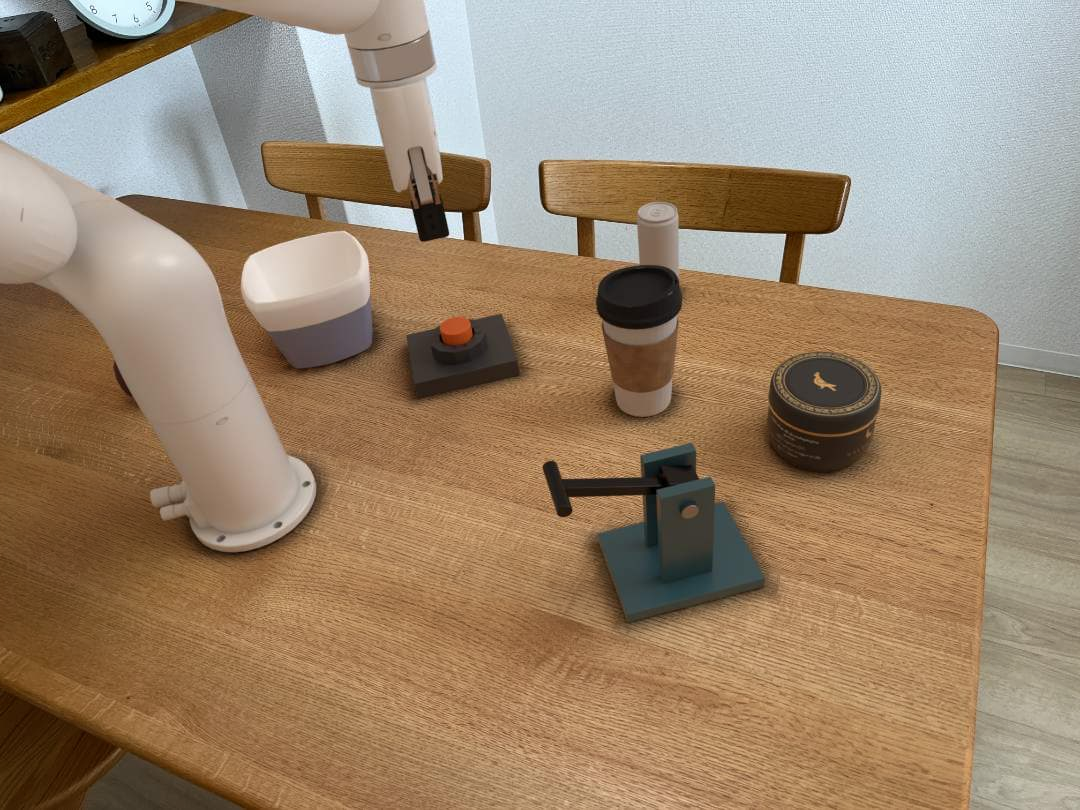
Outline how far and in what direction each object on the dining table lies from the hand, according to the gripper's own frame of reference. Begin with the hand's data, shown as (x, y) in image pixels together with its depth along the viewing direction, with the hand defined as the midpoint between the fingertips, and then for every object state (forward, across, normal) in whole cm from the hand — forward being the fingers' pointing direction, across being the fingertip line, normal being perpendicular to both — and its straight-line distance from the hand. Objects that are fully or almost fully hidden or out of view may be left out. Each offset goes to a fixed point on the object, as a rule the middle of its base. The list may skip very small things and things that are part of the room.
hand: (434, 235), depth 86 cm
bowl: (+17, -11, -16) cm, 26 cm away
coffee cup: (+17, +14, +18) cm, 29 cm away
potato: (+17, -8, -37) cm, 42 cm away
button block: (+17, 0, 0) cm, 17 cm away
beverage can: (+17, -4, +26) cm, 31 cm away
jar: (+17, +26, +32) cm, 45 cm away
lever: (+7, +36, +9) cm, 38 cm away
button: (+13, 0, 0) cm, 13 cm away
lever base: (+17, +36, +14) cm, 42 cm away
